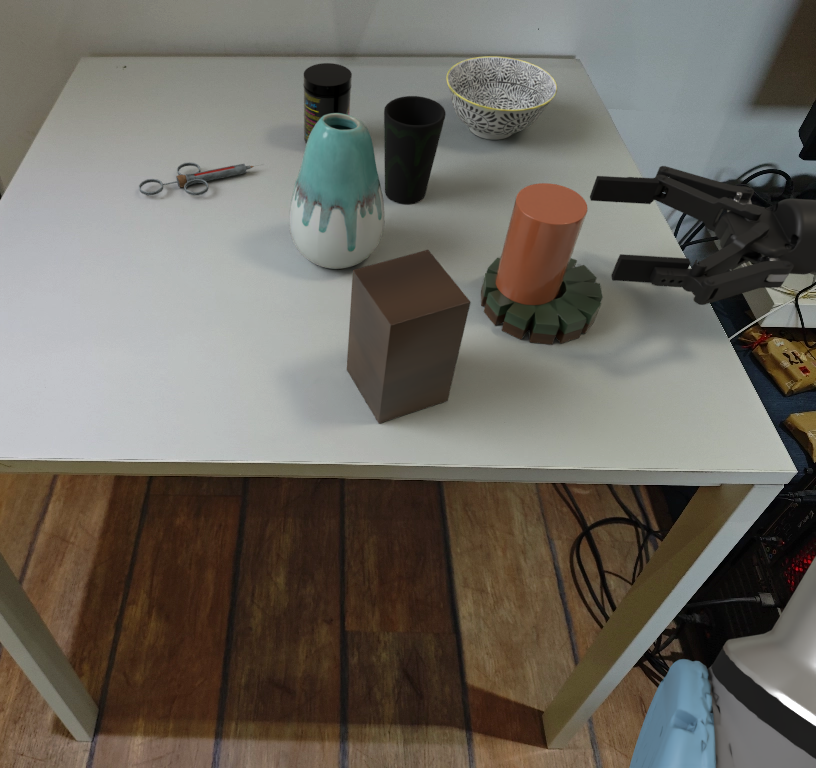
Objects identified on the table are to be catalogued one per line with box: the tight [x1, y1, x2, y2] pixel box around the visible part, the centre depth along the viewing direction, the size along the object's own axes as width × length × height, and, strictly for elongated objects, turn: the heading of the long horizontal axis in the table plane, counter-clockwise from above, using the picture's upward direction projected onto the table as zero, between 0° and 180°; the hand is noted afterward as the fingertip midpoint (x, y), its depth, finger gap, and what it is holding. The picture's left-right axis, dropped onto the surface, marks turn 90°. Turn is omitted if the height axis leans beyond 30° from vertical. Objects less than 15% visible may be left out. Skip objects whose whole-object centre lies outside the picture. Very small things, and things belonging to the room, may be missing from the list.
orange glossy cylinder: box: [495, 182, 589, 305], centre depth 78 cm, size 7×7×11 cm
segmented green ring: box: [480, 257, 604, 346], centre depth 83 cm, size 13×13×3 cm
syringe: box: [138, 161, 265, 197], centre depth 101 cm, size 8×18×2 cm, turn 110°
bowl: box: [445, 55, 558, 141], centre depth 108 cm, size 16×16×8 cm
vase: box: [288, 113, 385, 270], centre depth 84 cm, size 12×12×18 cm
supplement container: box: [302, 62, 353, 145], centre depth 104 cm, size 7×7×10 cm
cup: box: [383, 95, 446, 205], centre depth 95 cm, size 8×8×12 cm
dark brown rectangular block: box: [346, 249, 472, 424], centre depth 71 cm, size 8×8×14 cm
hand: (603, 225), depth 75 cm, fingers open, 13 cm apart
